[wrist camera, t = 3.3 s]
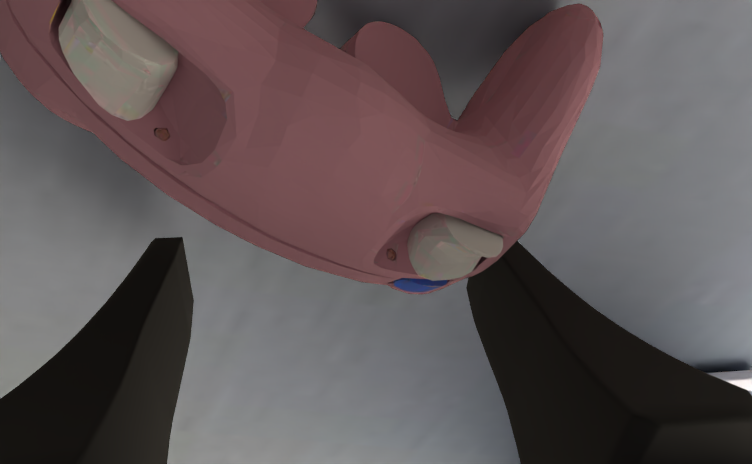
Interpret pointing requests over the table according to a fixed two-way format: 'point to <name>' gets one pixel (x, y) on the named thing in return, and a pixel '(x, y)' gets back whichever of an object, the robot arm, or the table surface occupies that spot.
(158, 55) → the video game controller
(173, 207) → the table surface
